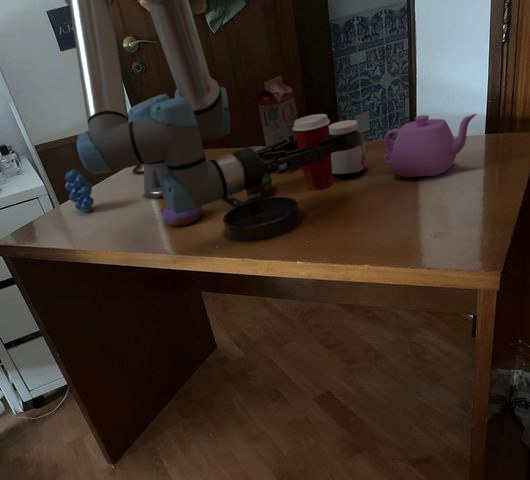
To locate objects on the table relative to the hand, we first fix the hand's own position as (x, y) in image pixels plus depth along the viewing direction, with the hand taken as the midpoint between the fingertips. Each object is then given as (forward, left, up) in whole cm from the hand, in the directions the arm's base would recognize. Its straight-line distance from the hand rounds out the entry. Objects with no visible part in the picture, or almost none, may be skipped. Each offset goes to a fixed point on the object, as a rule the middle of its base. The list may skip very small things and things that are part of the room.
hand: (333, 138), depth 111 cm
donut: (-20, -31, -12) cm, 39 cm away
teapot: (+6, +20, -12) cm, 24 cm away
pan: (0, -20, -12) cm, 23 cm away
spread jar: (-12, +9, -12) cm, 19 cm away
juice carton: (-31, +4, -12) cm, 34 cm away
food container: (-18, -10, -12) cm, 24 cm away
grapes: (-55, -47, -12) cm, 73 cm away
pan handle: (-14, -20, -12) cm, 27 cm away
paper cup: (0, -5, -9) cm, 10 cm away
